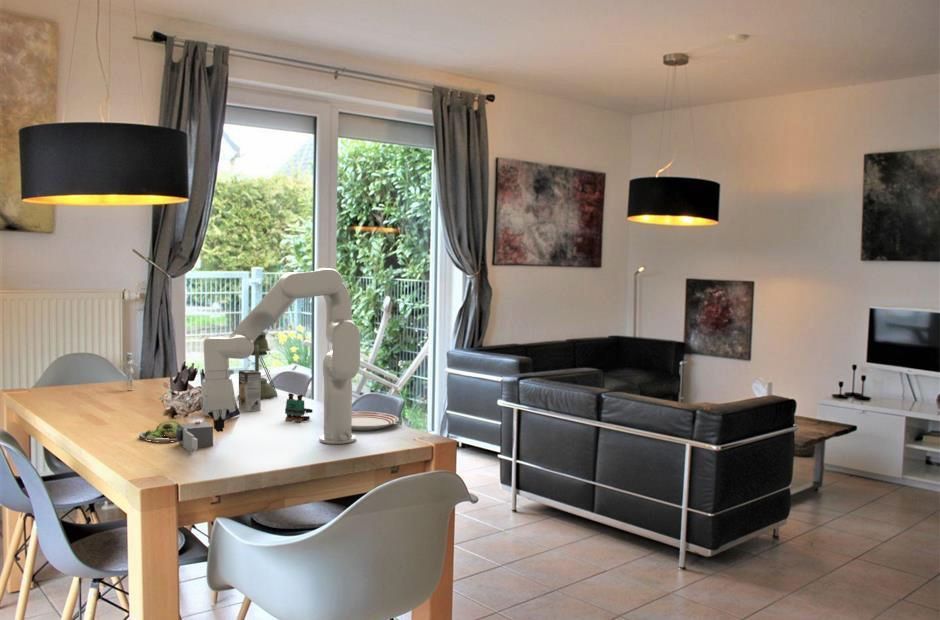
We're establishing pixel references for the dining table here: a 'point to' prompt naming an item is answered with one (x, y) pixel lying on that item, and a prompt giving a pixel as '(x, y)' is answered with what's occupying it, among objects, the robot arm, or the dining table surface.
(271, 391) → the green desk lamp
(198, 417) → the dining table surface
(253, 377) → the coffee box
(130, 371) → the human figurine
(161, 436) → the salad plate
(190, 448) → the side door
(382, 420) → the dinner plate
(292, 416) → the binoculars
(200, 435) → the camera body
